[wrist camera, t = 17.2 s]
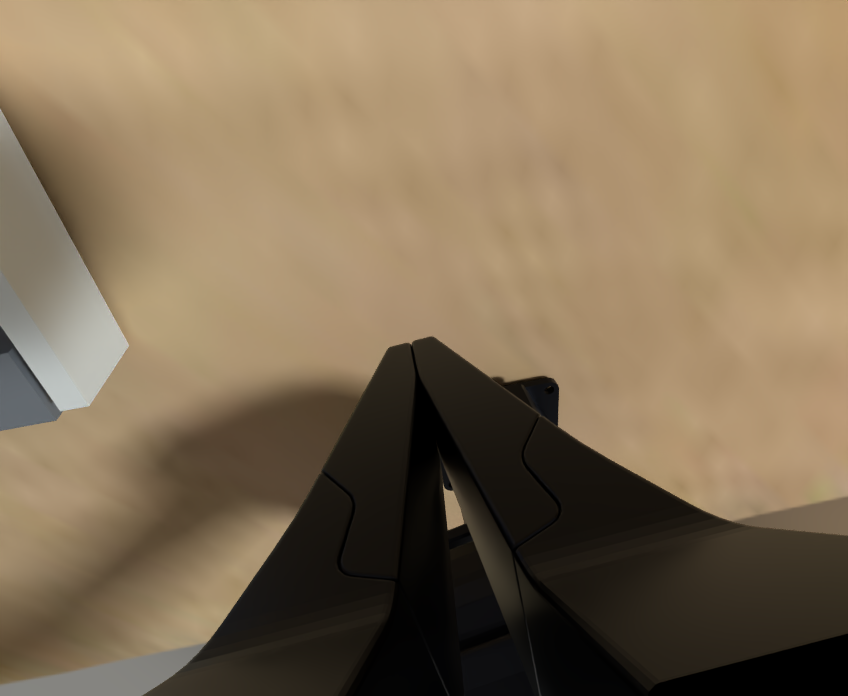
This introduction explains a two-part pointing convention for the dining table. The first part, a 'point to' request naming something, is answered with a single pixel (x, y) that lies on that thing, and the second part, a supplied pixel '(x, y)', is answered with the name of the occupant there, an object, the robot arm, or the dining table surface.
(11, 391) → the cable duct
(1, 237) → the light grey flat bar
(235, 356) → the dining table surface
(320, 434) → the dining table surface
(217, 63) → the dining table surface
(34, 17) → the dining table surface
